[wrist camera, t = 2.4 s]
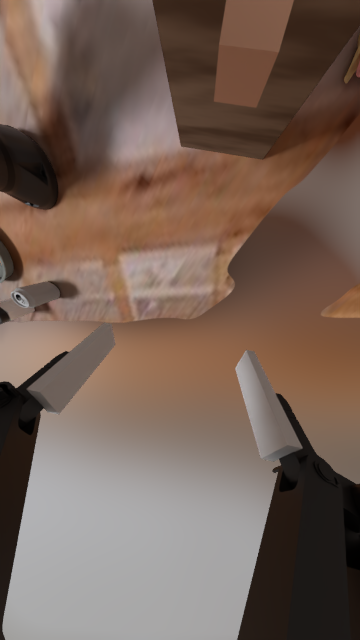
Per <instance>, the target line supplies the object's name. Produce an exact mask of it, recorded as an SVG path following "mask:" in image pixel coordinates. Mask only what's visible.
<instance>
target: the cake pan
mask: <svg viewBox="0 0 360 640" xmlns="http://www.w3.org/2000/svg"><path fill="white" fill-rule="evenodd" d="M0 261H1V263H2V265H1V263H0V283H2V282H3V281H4V280H5V278H7V277H9V276H11V275H12V273H13V269H14V267H13V262H12V259H11V256H10V254H9V252H8V251H7V249H6V247H5V246H4V244H3V243H2V242H1V241H0Z"/></svg>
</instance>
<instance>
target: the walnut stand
mask: <svg viewBox="0 0 360 640" xmlns="http://www.w3.org/2000/svg"><path fill="white" fill-rule="evenodd" d="M153 5H154V10H155V15H156V20H157V26H158V31H159V36H160V41H161V46H162V51H163V56H164V61H165V66H166V72H167V77H168V82H169V87H170V92H171V97H172V102H173V107H174V112H175V118H176V123H177V128H178V133H179V138H180V143H181V146H182V147H188V148H195V149H201V150H207V151H213V152H220V153H226V154H232V155H238V156H245V157H251V158H257V159H263V158H264V157H265V155H266V154H267V153H268V151H269V150H270V149H271V147H272V146H273V144H274V143H275V142H276V140H277V139H278V138H279V136H280V135H281V133H282V132H283V131H284V129H285V128H286V126H287V125H288V124H289V122H290V121H291V120H292V118H293V117H294V115H295V114H296V113H297V111H298V110H299V109H300V107H301V106H302V104H303V103H304V102H305V100H306V99H307V98H308V96H309V95H310V93H311V92H312V91H313V89H314V88H315V86H316V85H317V84H318V82H319V81H320V80H321V78H322V77H323V75H324V74H325V73H326V71H327V70H328V69H329V67H330V66H331V64H332V63H333V62H334V60H335V59H336V57H337V56H338V55H339V53H340V52H341V51H342V49H343V48H344V46H345V45H346V44H347V42H348V41H349V40H350V38H351V37H352V35H353V34H354V33H355V31H356V30H357V29H358V27H359V26H360V0H294V2H293V5H292V8H291V12H290V15H289V19H288V22H287V26H286V29H285V33H284V36H283V39H282V43H281V46H280V50H279V53H278V55H277V58H276V60H275V63H274V65H273V68H272V70H271V73H270V75H269V78H268V80H267V83H266V85H265V87H264V90H263V92H262V95H261V97H260V100H259V102H258V105H257V107H256V108H254V107H247V106H241V105H234V104H227V103H220V102H214V94H215V83H216V73H217V62H218V51H219V42H220V36H221V30H222V24H223V17H224V11H225V5H226V0H153Z"/></svg>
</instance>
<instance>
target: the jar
mask: <svg viewBox="0 0 360 640" xmlns="http://www.w3.org/2000/svg"><path fill="white" fill-rule="evenodd" d="M34 311H35V309H34V308H29V307H28V308H23V307H21V306H19V305H18V304H16V303H15V302H14V301H13V299H12V298H10V299H6V300H3V301H0V324H2V323H5V322H8V321H12V320H14V319H17V318H19V317H22V316H24V315H27V314H29V313H32V312H34Z"/></svg>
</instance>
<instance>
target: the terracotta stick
mask: <svg viewBox="0 0 360 640" xmlns="http://www.w3.org/2000/svg"><path fill="white" fill-rule="evenodd" d="M293 2H294V0H226V5H225V11H224V17H223V24H222V30H221V36H220V42H219V51H218V62H217V73H216V83H215V94H214V102H220V103H227V104H234V105H241V106H247V107H254V108H256V107H257V105H258V102H259V100H260V97H261V95H262V92H263V90H264V87H265V85H266V83H267V80H268V78H269V75H270V73H271V70H272V68H273V65H274V63H275V60H276V58H277V55H278V53H279V50H280V46H281V43H282V39H283V36H284V33H285V29H286V26H287V22H288V19H289V15H290V12H291V8H292V5H293Z"/></svg>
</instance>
